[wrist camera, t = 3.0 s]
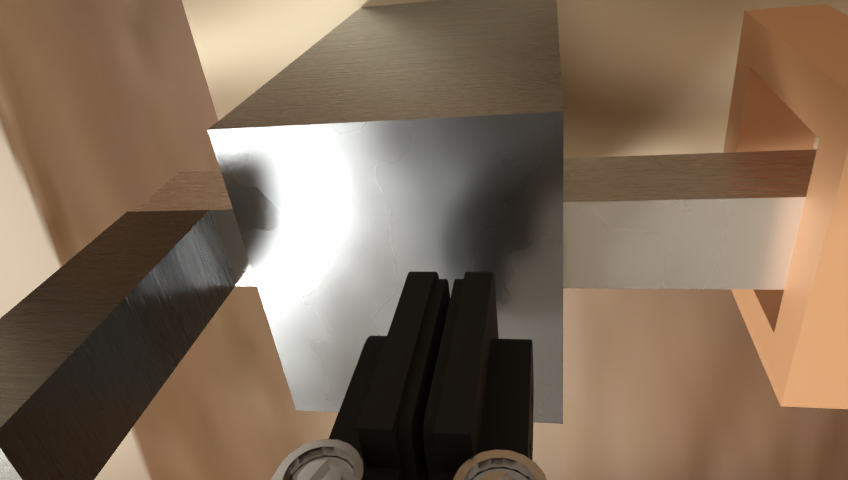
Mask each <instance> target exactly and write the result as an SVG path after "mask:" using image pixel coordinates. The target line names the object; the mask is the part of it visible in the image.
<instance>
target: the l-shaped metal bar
mask: <svg viewBox="0 0 848 480" xmlns="http://www.w3.org/2000/svg"><path fill="white" fill-rule="evenodd" d="M816 152H817V149H811V150H783V151H755V152H727V153H699V154H671V155H644V156H616V157H588V158H563V288H617V289H763V290H784V289H785V284H786V280H787V276H788V271H789V267H790V263H791V259H792V254H793V250H794V246H795V242H796V237H797V233H798V229H799V225H800V220H801V216H802V212H803V207H804V203H805V199H806V195H807V190H808V186H809V182H810V178H811V173H812V169H813V165H814V160H815V156H816ZM235 286H257V284H256V281H255V278H254V275H253V272H252V268H251V265H250V262H249V259H248V256H247V253H246V249H245V246H244V243H243V240H242V237H241V234H240V230H239V227H238V224H237V221H236V218H235V215H234V211H233V208H232V205H231V202H230V199H229V196H228V193H227V189H226V186H225V183H224V180H223V177H222V174H221V171H198V172H180V173H178V174H177V175H176V176H175V177H174V178H173V179H171V180H170V181H169V182H168V183H167V184H166V185H164V186H163V187H162V188H161V189H160V190H159V191H157V192H156V193H155V194H154V195H153V196H151V197H150V198H149V199H148V200H147V201H146V202H144V203H143V204H142V205H141V206H140V207H139V208H137V209H136V210H135V211H134V212H126V213H125V214H124V215H123V216H122V217H120V218H119V219H118V220H117V221H116V222H114V223H113V224H112V225H111V226H110V227H108V228H107V229H106V230H105V231H104V232H103V233H101V234H100V235H99V236H98V237H97V238H95V239H94V240H93V241H92V242H91V243H89V244H88V245H87V246H86V247H85V248H84V249H82V250H81V251H80V252H79V253H78V254H76V255H75V256H74V257H73V258H72V259H70V260H69V261H68V262H67V263H66V264H65V265H63V266H62V267H61V268H60V269H59V270H58V271H56V272H55V273H54V274H53V275H52V276H50V277H49V278H48V279H47V280H46V281H45V282H43V283H42V284H41V285H40V286H39V287H37V288H36V289H35V290H34V291H33V292H31V293H30V294H29V295H28V296H27V297H25V298H24V299H23V300H22V301H21V302H20V303H18V304H17V305H16V306H15V307H14V308H13V309H11V310H10V311H9V312H8V313H6V314H5V315H4V316H3V317H2V318H1V319H0V480H94V479H95V478H96V476H97V475H98V473H99V472H100V471H101V469H102V468H103V467H104V465H105V464H106V463H107V461H108V460H109V458H110V457H111V456H112V454H113V453H114V452H115V450H116V449H117V447H118V446H119V445H120V443H121V442H122V441H123V439H124V438H125V436H126V435H127V434H128V432H129V431H130V430H131V428H132V427H133V426H134V424H135V423H136V421H137V420H138V419H139V417H140V416H141V415H142V413H143V412H144V410H145V409H146V408H147V406H148V405H149V404H150V402H151V401H152V399H153V398H154V397H155V395H156V394H157V393H158V391H159V390H160V388H161V387H162V386H163V384H164V383H165V382H166V380H167V379H168V378H169V376H170V375H171V373H172V372H173V371H174V369H175V368H176V367H177V365H178V364H179V362H180V361H181V360H182V358H183V357H184V356H185V354H186V353H187V351H188V350H189V349H190V347H191V346H192V345H193V343H194V342H195V340H196V339H197V338H198V336H199V335H200V334H201V332H202V331H203V329H204V328H205V327H206V325H207V324H208V323H209V321H210V320H211V319H212V317H213V316H214V314H215V313H216V312H217V310H218V309H219V308H220V306H221V305H222V303H223V302H224V301H225V299H226V298H227V297H228V295H229V294H230V292H231V291H232V290H233V288H234V287H235Z"/></svg>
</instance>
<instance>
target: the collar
mask: <svg viewBox="0 0 848 480" xmlns="http://www.w3.org/2000/svg"><path fill="white" fill-rule="evenodd" d="M816 136H817V137H818V138H819V143H818V148H817V152H816V156H815V160H814V165H813V169H812V173H811V178H810V182H809V186H808V190H807V195H806V199H805V203H804V207H803V212H802V216H801V220H800V225H799V229H798V233H797V237H796V242H795V246H794V250H793V254H792V259H791V263H790V267H789V271H788V276H787V280H786V284H785V289H784V290H763V289H731V290H732V293H733V295H734V298H735V300H736V302H737V305H738V307H739V309H740V312H741V314H742V316H743V319H744V321H745V323H746V326H747V328H748V330H749V333H750V335H751V338H752V340H753V342H754V345H755V347H756V349H757V352H758V354H759V356H760V359H761V361H762V363H763V366H764V368H765V370H766V373H767V375H768V377H769V380H770V382H771V385H772V387H773V389H774V392H775V394H776V396H777V399H778V401H779V403H780V406H788V407H812V408H835V409H848V15H846V14H844V13H842V12H840V11H838V10H836V9H835V8H833V7H831V6H829V5H827V4H818V5H806V6H793V7H781V8H768V9H756V10H744V16H743V23H742V30H741V36H740V43H739V50H738V56H737V63H736V70H735V77H734V83H733V90H732V97H731V103H730V110H729V117H728V124H727V130H726V137H725V144H724V150H723V153H727V152H755V151H783V150H811V149H813V146H814V142H815V138H816Z"/></svg>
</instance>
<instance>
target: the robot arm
mask: <svg viewBox="0 0 848 480" xmlns="http://www.w3.org/2000/svg"><path fill="white" fill-rule="evenodd" d="M533 410H534V374H533V343H532V339H499V336H498V321H497V306H496V291H495V277H494V272H465V275H464V279H455V280H454V284H453V288H452V293H451V298H450V291H449V283H448V280H447V279H439V276H438V273H437V272H409V273H408V275H407V278H406V281H405V284H404V287H403V290H402V293H401V296H400V299H399V302H398V305H397V308H396V311H395V314H394V317H393V320H392V323H391V326H390V329H389V332H388V335H387V336H369V337H368V338H367V340H366V342H365V344H364V347H363V349H362V352H361V355H360V357H359V360H358V362H357V365H356V368H355V370H354V373H353V376H352V378H351V381H350V384H349V386H348V389H347V392H346V394H345V397H344V400H343V402H342V405H341V408H340V410H339V413H338V416H337V418H336V421H335V424H334V426H333V429H332V432H331V434H330V437H329V439H322V440H317V441H312V442H310V443H307V444H305V445H303V446H301V447H299V448H297V449H296V450H295V451H293V452H292V453H291V454H289V455H288V456H287V457H286V458H285V459H284V461H283V462H282V463H281V464H280V466H279V467H278V468H277V470H276V472H275V473H274V475H273V477H272V478H271V480H547V479H546V477H545V474H544V473H543V471H542V470H541V469H540V468H539V466H538V465H537V464H536V463H535V462H533V461H532V452H533Z"/></svg>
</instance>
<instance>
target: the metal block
mask: <svg viewBox="0 0 848 480" xmlns="http://www.w3.org/2000/svg"><path fill="white" fill-rule="evenodd" d="M563 115H564V111H563V96H562V80H561V64H560V48H559V33H558V17H557V1H556V0H436V1H425V2H414V3H403V4H392V5H381V6H370V7H360V8H359V9H358V10H357V11H355V12H354V13H353V14H352V15H350V16H349V17H348V18H347V19H345V20H344V21H343V22H342V23H340V24H339V25H338V26H337V27H335V28H334V29H333V30H332V31H330V32H329V33H328V34H327V35H325V36H324V37H323V38H322V39H320V40H319V41H318V42H317V43H315V44H314V45H313V46H312V47H310V48H309V49H308V50H307V51H305V52H304V53H303V54H302V55H300V56H299V57H298V58H297V59H295V60H294V61H293V62H292V63H290V64H289V65H288V66H287V67H285V68H284V69H283V70H282V71H280V72H279V73H278V74H277V75H275V76H274V77H273V78H272V79H270V80H269V81H268V82H267V83H265V84H264V85H263V86H262V87H260V88H259V89H258V90H257V91H255V92H254V93H253V94H252V95H250V96H249V97H248V98H247V99H246V100H244V101H243V102H242V103H241V104H239V105H238V106H237V107H236V108H234V109H233V110H232V111H231V112H229V113H228V114H227V115H226V116H224V117H223V118H222V119H221V120H219V121H218V122H217V123H216V124H214V125H213V126H212V127H211V128H209V129H208V132H209V136H210V139H211V142H212V145H213V148H214V151H215V155H216V158H217V161H218V164H219V167H220V170H221V174H222V177H223V180H224V183H225V186H226V189H227V193H228V196H229V199H230V202H231V205H232V208H233V211H234V215H235V218H236V221H237V224H238V227H239V230H240V234H241V237H242V240H243V243H244V246H245V249H246V253H247V256H248V259H249V262H250V265H251V268H252V272H253V275H254V278H255V281H256V284H257V287H258V290H259V294H260V297H261V300H262V303H263V306H264V309H265V313H266V316H267V319H268V322H269V325H270V328H271V332H272V335H273V338H274V341H275V344H276V347H277V351H278V354H279V357H280V360H281V363H282V366H283V369H284V373H285V376H286V379H287V382H288V385H289V388H290V392H291V395H292V398H293V401H294V404H295V407H296V410H307V411H326V412H339V410H340V408H341V405H342V402H343V400H344V397H345V394H346V392H347V389H348V386H349V384H350V381H351V378H352V376H353V373H354V370H355V368H356V365H357V362H358V360H359V357H360V355H361V352H362V349H363V347H364V344H365V342H366V340H367V338H368V337H369V336H387V335H388V332H389V329H390V326H391V323H392V320H393V317H394V314H395V311H396V308H397V305H398V302H399V299H400V296H401V293H402V290H403V287H404V284H405V281H406V278H407V275H408V273H409V272H437V273H438V276H439V279H447V280H448V283H449V291H450V298H451V293H452V288H453V284H454V280H455V279H464V275H465V272H494V277H495V291H496V306H497V321H498V336H499V339H532V343H533V374H534V410H533V422H540V423H559V424H563Z"/></svg>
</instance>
